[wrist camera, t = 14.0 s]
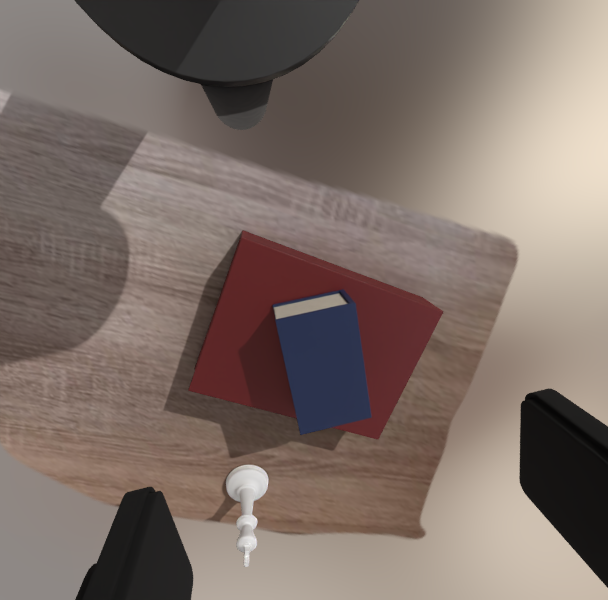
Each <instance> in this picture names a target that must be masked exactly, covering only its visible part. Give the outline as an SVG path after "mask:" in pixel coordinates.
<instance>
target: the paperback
mask: <svg viewBox="0 0 608 600" xmlns="http://www.w3.org/2000/svg"><path fill="white" fill-rule="evenodd" d="M272 306H273V310H274V315H275V322H276V326H277V331H278V335H279V340H280V344H281V349H282V353H283V358H284V363H285V367H286V372H287V376H288V381H289V385H290V390H291V394H292V399H293V403H294V408H295V412H296V417H297V422H298V426H299V431H300V435H302V434H307V433H311V432H315V431H319V430H323V429H327V428H331V427H335V426H339V425H343V424H348V423H352V422H356V421H360V420H364V419H368V418H372V416H371V409H370V402H369V394H368V387H367V380H366V373H365V366H364V359H363V352H362V345H361V337H360V330H359V323H358V316H357V309H356V303H355V302H354V301H353V300H352V298H351V297H350V296H349V295H348V294H347V293H346V292H345V290H344V289H342V290H338V291H333V292H328V293H324V294H319V295H314V296H310V297H305V298H300V299H296V300H291V301H287V302H282V303H277V304H273V305H272Z"/></svg>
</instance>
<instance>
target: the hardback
mask: <svg viewBox="0 0 608 600" xmlns="http://www.w3.org/2000/svg"><path fill="white" fill-rule="evenodd" d="M342 289H344V290H345V292H346V293H347V294H348V295H349V296H350V297H351V298H352V300H353V301H354V302H355V303H356V309H357V316H358V323H359V330H360V337H361V345H362V352H363V359H364V366H365V373H366V380H367V387H368V394H369V402H370V409H371V416H372V418H368V419H364V420H360V421H356V422H352V423H348V424H343V425H339V426H335V427H332V428H336V429H340V430H343V431H347V432H351V433H355V434H359V435H363V436H367V437H371V438H374V439H379V437H380V435H381V433H382V431H383V429H384V427H385V425H386V423H387V421H388V419H389V417H390V415H391V413H392V411H393V409H394V407H395V405H396V404H397V402H398V400H399V398H400V396H401V394H402V392H403V390H404V388H405V386H406V384H407V382H408V380H409V378H410V376H411V374H412V372H413V370H414V368H415V366H416V364H417V362H418V360H419V359H420V357H421V355H422V353H423V351H424V349H425V347H426V345H427V343H428V341H429V339H430V337H431V335H432V333H433V331H434V329H435V327H436V325H437V323H438V321H439V319H440V317H441V316H442V314H443V311H442V310H440V309H439V308H437V307H436V306H434V305H433V304H431V303H430V302H428V301H427V300H426V299H424V298H423V297H420V296H417V295H415V294H412V293H409V292H406V291H404V290H401V289H398V288H396V287H393V286H390V285H388V284H385V283H382V282H380V281H377V280H374V279H372V278H369V277H366V276H364V275H361V274H358V273H356V272H353V271H350V270H348V269H345V268H342V267H340V266H337V265H334V264H332V263H329V262H326V261H324V260H321V259H318V258H315V257H313V256H310V255H307V254H305V253H302V252H299V251H297V250H294V249H291V248H289V247H286V246H283V245H281V244H278V243H275V242H273V241H270V240H267V239H265V238H262V237H259V236H257V235H254V234H251V233H249V232H246V231H242V234H241V237H240V240H239V242H238V245H237V248H236V251H235V254H234V257H233V260H232V262H231V265H230V268H229V271H228V274H227V277H226V280H225V283H224V285H223V288H222V291H221V294H220V297H219V300H218V303H217V306H216V308H215V311H214V314H213V317H212V320H211V323H210V326H209V329H208V331H207V334H206V337H205V340H204V343H203V346H202V349H201V351H200V354H199V357H198V360H197V363H196V366H195V372H194V375H193V378H192V381H191V384H190V387H189V391H192V392H196V393H200V394H204V395H208V396H212V397H215V398H219V399H223V400H227V401H231V402H235V403H239V404H243V405H246V406H250V407H254V408H258V409H262V410H266V411H270V412H274V413H278V414H281V415H285V416H289V417H293V418H297V417H296V412H295V408H294V403H293V399H292V394H291V390H290V385H289V381H288V376H287V372H286V367H285V363H284V358H283V353H282V349H281V344H280V340H279V335H278V331H277V326H276V322H275V315H274V310H273V306H272V305H273V304H277V303H282V302H287V301H291V300H296V299H300V298H305V297H310V296H314V295H319V294H324V293H328V292H333V291H338V290H342Z"/></svg>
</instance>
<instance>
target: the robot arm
mask: <svg viewBox="0 0 608 600" xmlns="http://www.w3.org/2000/svg"><path fill="white" fill-rule="evenodd" d="M520 484H521V486H522V489H523V491H524V492H525V494H526V495H527V496H528V498H529V499H530V500H531V501H532V502H533V503H534V504H535V506H536V507H537V508H538V509H539V510H540V511H541V512H542V514H543V515H544V516H545V517H546V518H547V519H548V520H549V521H550V523H551V524H552V525H553V526H554V527H555V528H556V530H557V531H558V532H559V533H560V534H561V535H562V536H563V537H564V539H565V540H566V541H567V542H568V543H569V544H570V545H571V547H572V548H573V549H574V550H575V551H576V552H577V553H578V555H579V556H580V557H581V558H582V559H583V560H584V561H585V562H586V564H587V565H588V566H589V567H590V568H591V569H592V570H593V572H594V573H595V574H596V575H597V576H598V577H599V578H600V580H601V581H602V582H603V583H604V584H605V585H606V586H607V587H608V427H607V426H606V425H605V424H603V423H602V422H600V421H599V420H597V419H596V418H595V417H593V416H591V415H590V414H589V413H587V412H586V411H584V410H583V409H581V408H580V407H579V406H577V405H576V404H574V403H573V402H571V401H570V400H568V399H567V398H565V397H564V396H563V395H561V394H560V393H558V392H557V391H555V390H553V389H545V390H541V391H537V392H533V393H529V394H527V395H526V397H525V401H523V402H522V403H521V428H520ZM192 586H193V572H192V567H191V564H190V562H189V559H188V556H187V554H186V551H185V549H184V546H183V544H182V541H181V539H180V536H179V534H178V531H177V528H176V526H175V523H174V521H173V518H172V516H171V513H170V511H169V508H168V506H167V503H166V500H165V498H164V495H163V493H162V492H161V491H157V492H155V490H154V488H153V487H147V488H143V489H139V490H135V491H131V492H127V493H126V494H125V495H124V497H123V499H122V501H121V504H120V506H119V509H118V511H117V514H116V516H115V519H114V521H113V524H112V526H111V529H110V532H109V534H108V536H107V539H106V541H105V544H104V547H103V549H102V551H101V555H100V556H99V559H98V561H97V563H96V564H94V565H93V566H92V567H91V568H90V569H89V570H88V572H87V574H86V576H85V578H84V580H83V583H82V585H81V587H80V590H79V592H78V595H77V597H76V599H75V600H191V594H192Z"/></svg>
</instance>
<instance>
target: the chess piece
mask: <svg viewBox="0 0 608 600" xmlns="http://www.w3.org/2000/svg"><path fill="white" fill-rule="evenodd" d="M267 488H268V475H267V473H266V472H265V471H264V470H263V469H262V468H260V467H258V466H255V465H243V466H239V467H237V468H235V469H234V470H232V471H231V472H230V474H229V475H228V477H227V479H226V489H227V492H228V494H229V496H230V497H231V498H233V499H234V500H236V501H239V502H241V509H242V516H241V517H239V518H238V520H237V522H236V525H237V528H238V529H239V530H240V531H241V532H240V535H239V537H238V539H237V543H236V546H237V549H238V550H239V551H241V552H244V566H249V554H250V551H252V550H254V549H255V548H256V546H257V540H256V537H255V535H254V532H253V530H254V529H255V527H256V525H257V519H256V517H255V516H253V515H252V510H253V502H254V501H255V500H257V499H259V498H260V497H262V496H263V495H264V494H265V492H266V490H267Z"/></svg>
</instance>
